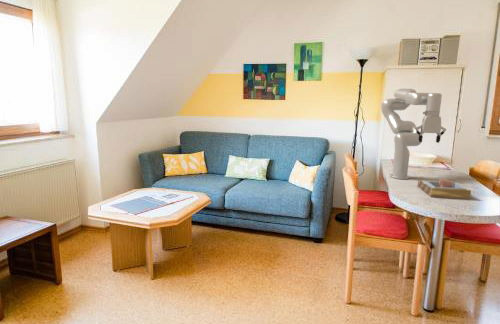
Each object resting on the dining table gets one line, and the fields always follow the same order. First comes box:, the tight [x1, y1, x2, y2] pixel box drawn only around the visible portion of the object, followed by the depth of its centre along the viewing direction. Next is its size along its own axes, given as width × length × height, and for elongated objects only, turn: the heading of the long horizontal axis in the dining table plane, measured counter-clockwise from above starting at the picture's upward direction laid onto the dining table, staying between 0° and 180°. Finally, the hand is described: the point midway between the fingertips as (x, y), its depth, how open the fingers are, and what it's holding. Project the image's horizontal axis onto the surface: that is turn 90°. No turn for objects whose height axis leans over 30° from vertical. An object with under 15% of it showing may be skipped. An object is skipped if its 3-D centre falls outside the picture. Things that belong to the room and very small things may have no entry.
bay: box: [416, 180, 472, 200], centre depth 191 cm, size 23×20×5 cm
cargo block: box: [438, 178, 453, 188], centre depth 187 cm, size 5×5×6 cm
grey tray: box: [425, 180, 468, 190], centre depth 187 cm, size 14×17×4 cm
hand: (428, 142), depth 198 cm, fingers open, 9 cm apart
